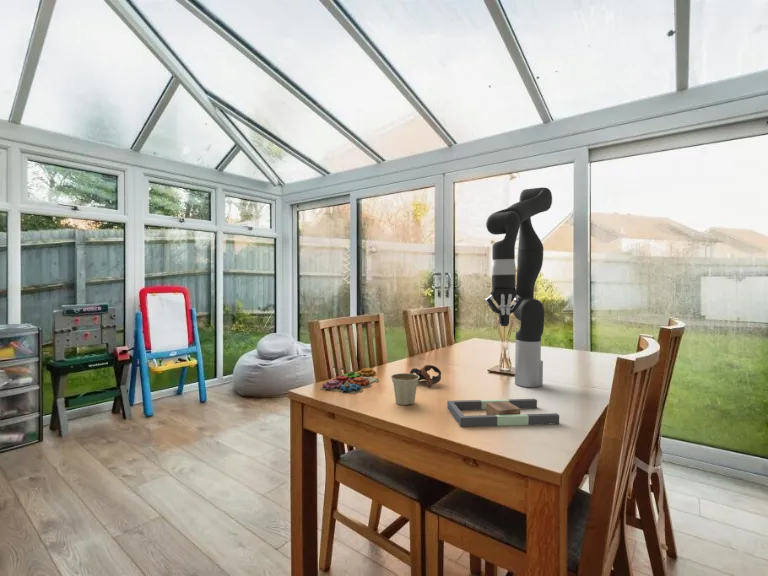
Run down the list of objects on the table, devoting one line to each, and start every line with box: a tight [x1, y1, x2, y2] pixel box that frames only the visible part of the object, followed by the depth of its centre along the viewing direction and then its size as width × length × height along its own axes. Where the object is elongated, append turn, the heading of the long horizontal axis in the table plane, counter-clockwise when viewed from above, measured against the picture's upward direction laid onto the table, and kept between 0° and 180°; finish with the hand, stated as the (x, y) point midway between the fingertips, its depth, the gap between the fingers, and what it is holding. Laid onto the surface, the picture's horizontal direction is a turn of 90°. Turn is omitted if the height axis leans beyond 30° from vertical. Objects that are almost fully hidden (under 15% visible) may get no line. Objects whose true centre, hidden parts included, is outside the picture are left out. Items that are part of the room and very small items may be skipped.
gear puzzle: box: [319, 367, 380, 395], centre depth 156 cm, size 31×16×4 cm, turn 157°
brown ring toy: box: [409, 364, 442, 388], centre depth 153 cm, size 12×10×8 cm
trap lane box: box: [446, 398, 560, 428], centre depth 118 cm, size 28×15×2 cm, turn 95°
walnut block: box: [485, 401, 521, 415], centre depth 116 cm, size 7×7×4 cm
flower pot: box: [390, 372, 419, 406], centre depth 131 cm, size 9×9×9 cm
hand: (504, 325), depth 131 cm, fingers closed
